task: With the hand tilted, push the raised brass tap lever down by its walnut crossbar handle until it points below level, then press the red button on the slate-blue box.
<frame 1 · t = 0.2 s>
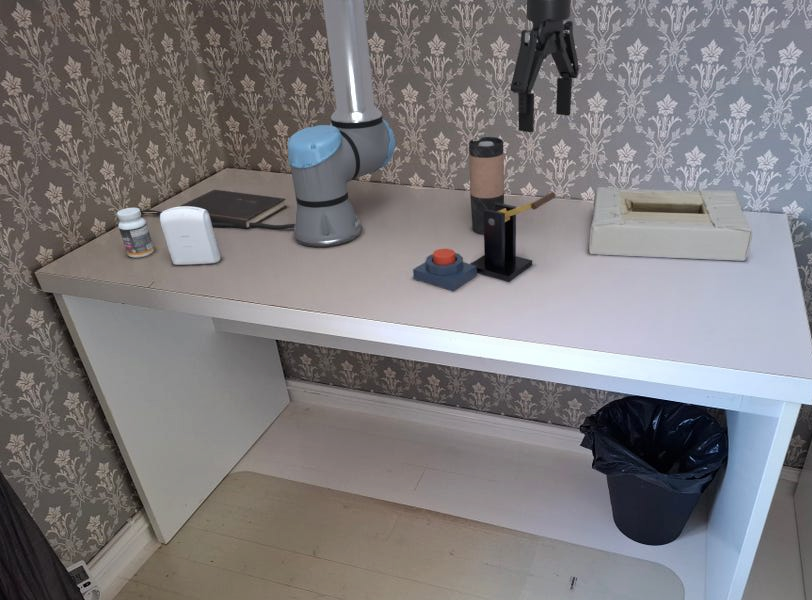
hand: (545, 122, 127), 28 cm above the table, tool pointing down, fingers open, 13 cm apart
box: (662, 237, 150), on the table
travel mug: (487, 229, 157), on the table
button box: (445, 277, 137), on the table
pill bottle: (141, 254, 153), on the table
hardcover book: (230, 213, 172), on the table
tap bracket: (500, 267, 140), on the table
red button: (444, 257, 134), point 4 cm above the table, slide at 0.1 cm
photo printer: (197, 262, 148), on the table
tap lever: (519, 209, 130), point 13 cm above the table, hinge at 28.0°
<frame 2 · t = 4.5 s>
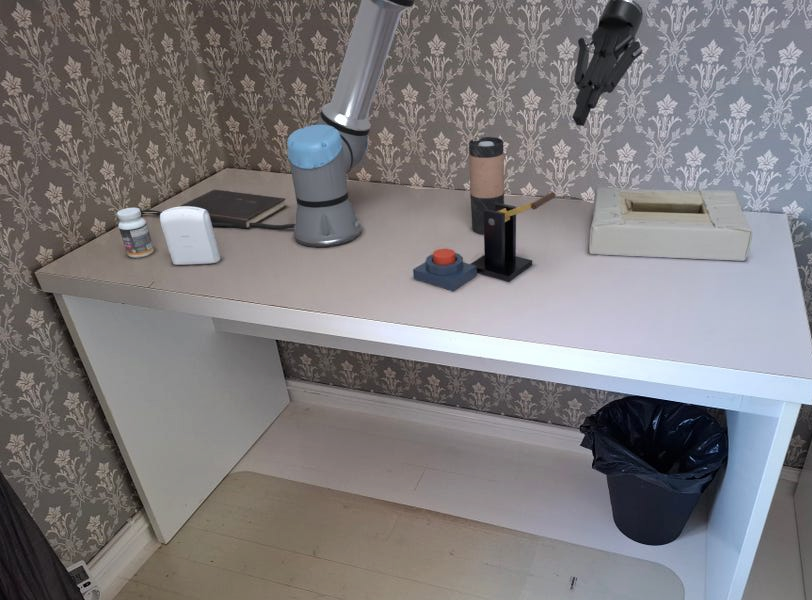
hand: (578, 121, 128), 28 cm above the table, tool tilted 45°, fingers closed
nothing on the table moved.
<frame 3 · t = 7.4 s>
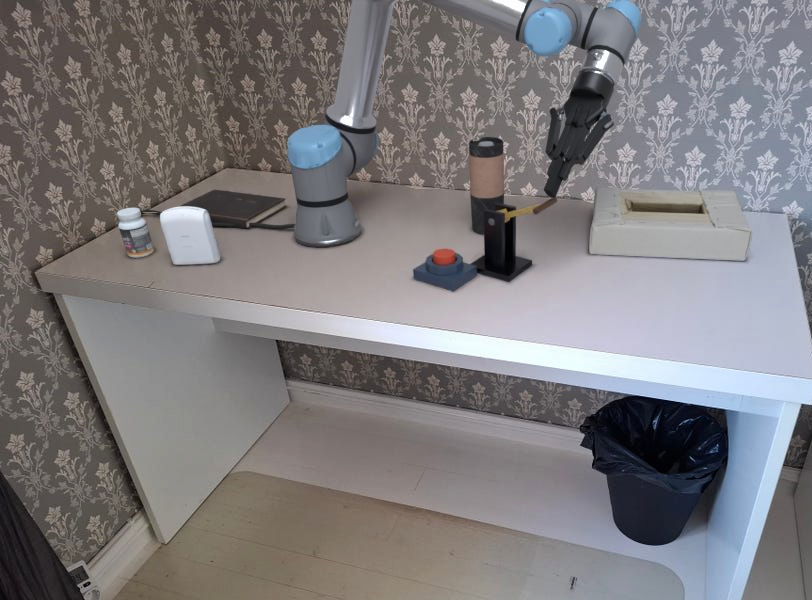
hand: (549, 193, 126), 17 cm above the table, tool tilted 45°, fingers closed
tap lever: (520, 211, 130), point 13 cm above the table, hinge at 22.9°, touching gripper
everything else where it was.
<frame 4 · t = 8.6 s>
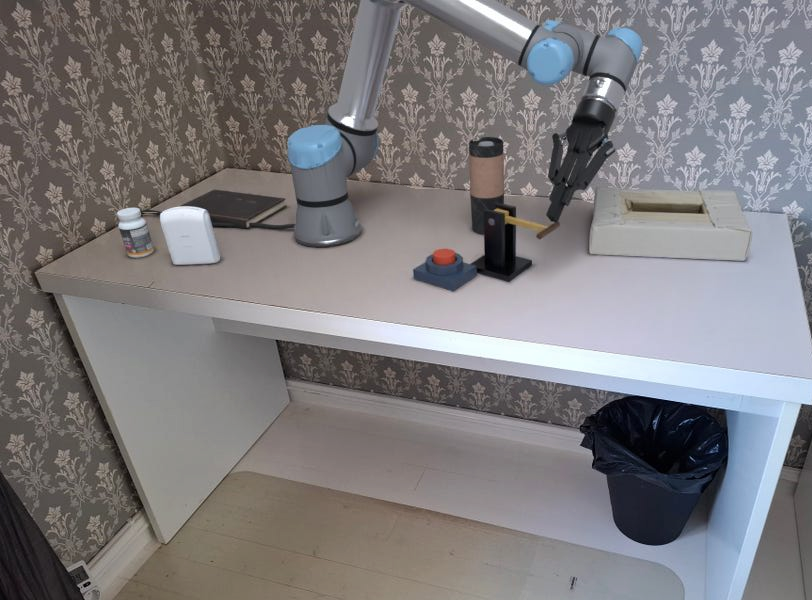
hand: (551, 218, 128), 12 cm above the table, tool tilted 45°, fingers closed
tap lever: (521, 223, 131), point 11 cm above the table, hinge at -2.2°, touching gripper
everything else where it was.
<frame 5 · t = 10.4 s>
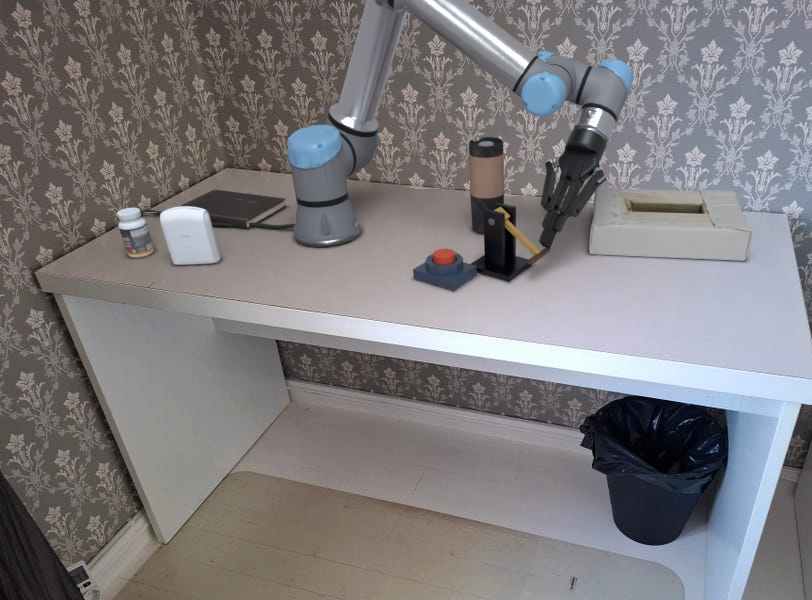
hand: (544, 244, 132), 7 cm above the table, tool tilted 45°, fingers closed
tap lever: (518, 234, 133), point 8 cm above the table, hinge at -33.3°, touching gripper
everything else where it was.
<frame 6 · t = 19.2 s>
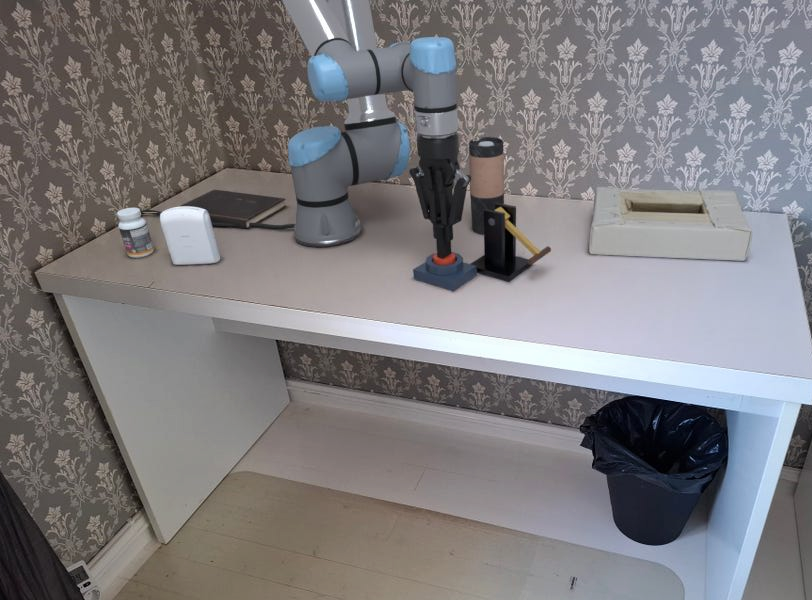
hand: (444, 254, 134), 5 cm above the table, tool pointing down, fingers closed
red button: (444, 259, 135), point 4 cm above the table, slide at -0.5 cm, touching gripper
tap lever: (518, 234, 133), point 8 cm above the table, hinge at -33.3°
everything else where it was.
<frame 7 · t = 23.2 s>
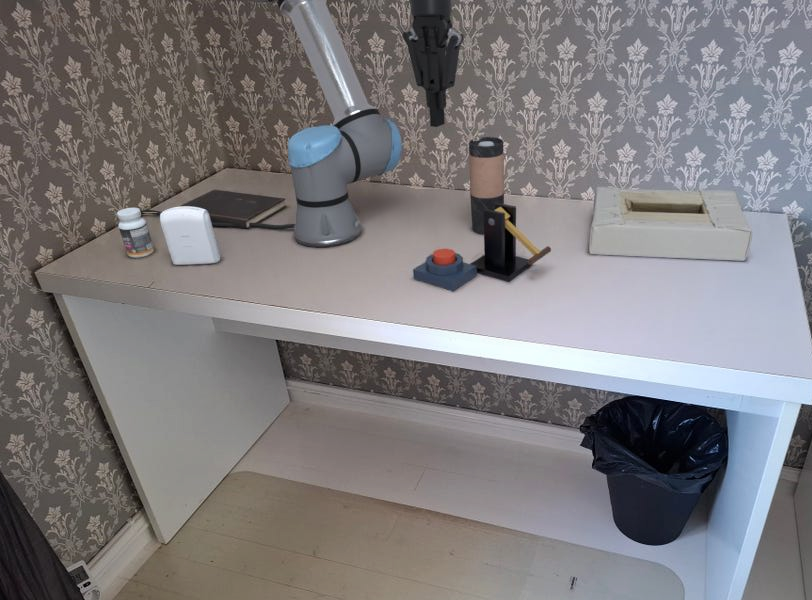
hand: (437, 124, 135), 26 cm above the table, tool pointing down, fingers closed
red button: (444, 257, 134), point 4 cm above the table, slide at 0.1 cm
everything else where it was.
at the end: tap lever at -33° (first picture: +28°); red button pushed in 1.0 cm at the most during the clip, back to where it started at the end; red button slide at 0.1 cm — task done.
